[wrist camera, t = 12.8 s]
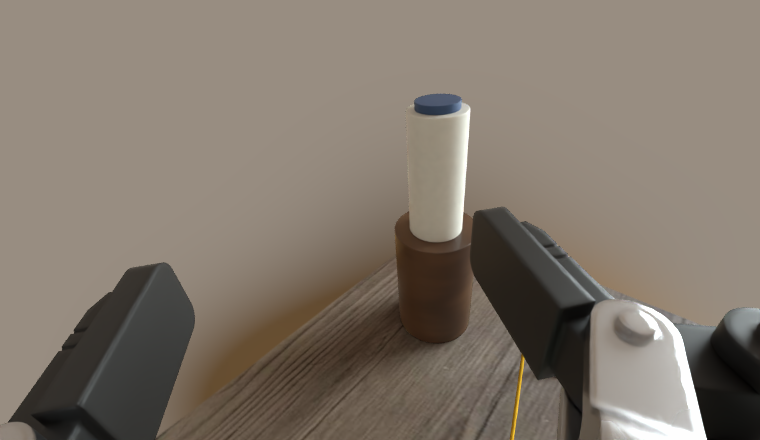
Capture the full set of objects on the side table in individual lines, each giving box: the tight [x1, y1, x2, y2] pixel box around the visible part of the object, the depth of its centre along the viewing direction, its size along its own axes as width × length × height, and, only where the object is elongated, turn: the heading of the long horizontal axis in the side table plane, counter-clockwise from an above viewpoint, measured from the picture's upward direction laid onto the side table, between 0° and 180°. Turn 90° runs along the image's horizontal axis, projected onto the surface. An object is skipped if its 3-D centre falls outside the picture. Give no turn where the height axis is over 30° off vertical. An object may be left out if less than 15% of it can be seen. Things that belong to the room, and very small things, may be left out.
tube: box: [406, 94, 470, 242], centre depth 26 cm, size 4×4×11 cm
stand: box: [395, 212, 474, 343], centre depth 32 cm, size 7×7×11 cm
